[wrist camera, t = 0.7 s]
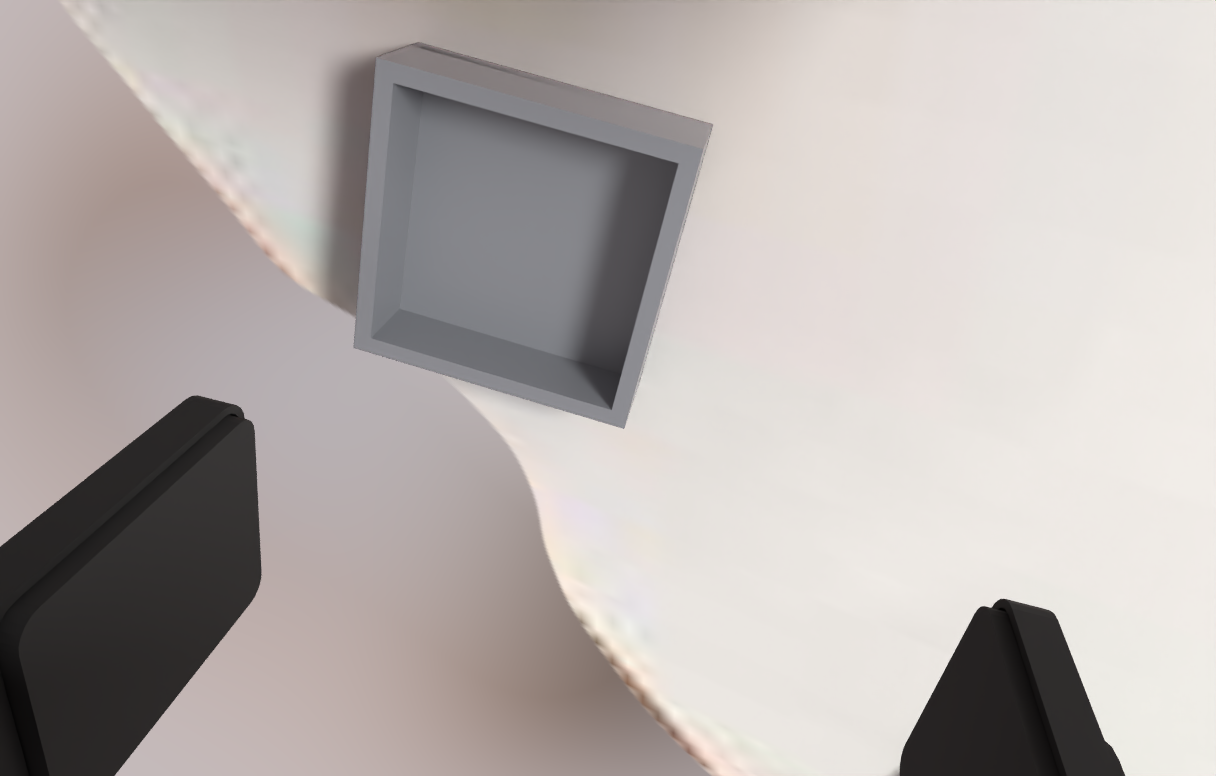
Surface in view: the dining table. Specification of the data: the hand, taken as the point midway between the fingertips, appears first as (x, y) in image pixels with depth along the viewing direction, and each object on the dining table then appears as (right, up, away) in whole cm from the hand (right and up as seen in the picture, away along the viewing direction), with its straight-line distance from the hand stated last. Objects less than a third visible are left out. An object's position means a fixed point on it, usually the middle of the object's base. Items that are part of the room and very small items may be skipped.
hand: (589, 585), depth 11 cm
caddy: (-3, +10, +30) cm, 32 cm away
